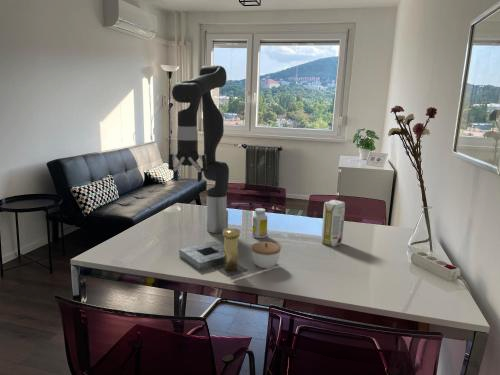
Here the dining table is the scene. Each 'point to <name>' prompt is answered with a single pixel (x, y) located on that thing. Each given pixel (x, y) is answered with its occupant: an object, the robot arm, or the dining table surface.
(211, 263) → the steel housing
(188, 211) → the dining table surface
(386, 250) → the dining table surface
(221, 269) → the rubber mat
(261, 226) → the supplement bottle
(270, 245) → the lidded jar
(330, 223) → the juice carton
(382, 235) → the dining table surface
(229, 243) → the brass plug
